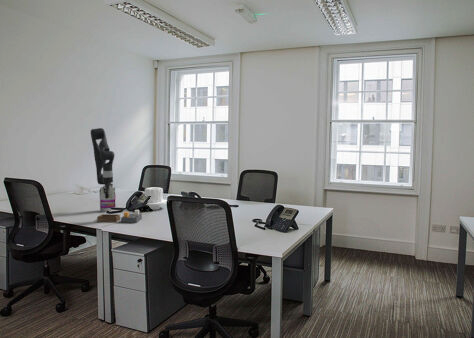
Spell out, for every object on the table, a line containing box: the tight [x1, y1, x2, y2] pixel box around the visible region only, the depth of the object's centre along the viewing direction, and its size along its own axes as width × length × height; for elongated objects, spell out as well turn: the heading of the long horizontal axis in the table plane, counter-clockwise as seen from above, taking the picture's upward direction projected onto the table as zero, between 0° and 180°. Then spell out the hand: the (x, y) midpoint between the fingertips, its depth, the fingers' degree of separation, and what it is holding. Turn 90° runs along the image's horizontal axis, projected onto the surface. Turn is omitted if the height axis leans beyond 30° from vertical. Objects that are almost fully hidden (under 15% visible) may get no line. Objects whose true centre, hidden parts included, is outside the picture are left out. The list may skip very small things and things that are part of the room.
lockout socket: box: [96, 213, 121, 223], centre depth 290 cm, size 9×15×4 cm, turn 89°
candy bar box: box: [99, 186, 117, 209], centre depth 289 cm, size 11×5×16 cm, turn 101°
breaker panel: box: [120, 213, 143, 224], centre depth 291 cm, size 15×12×4 cm
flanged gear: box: [144, 186, 168, 211], centre depth 339 cm, size 25×25×19 cm
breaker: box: [133, 209, 140, 215], centre depth 295 cm, size 3×3×4 cm
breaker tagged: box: [123, 211, 130, 217], centre depth 287 cm, size 3×3×4 cm
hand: (108, 197), depth 289 cm, fingers closed on candy bar box, 5 cm apart
